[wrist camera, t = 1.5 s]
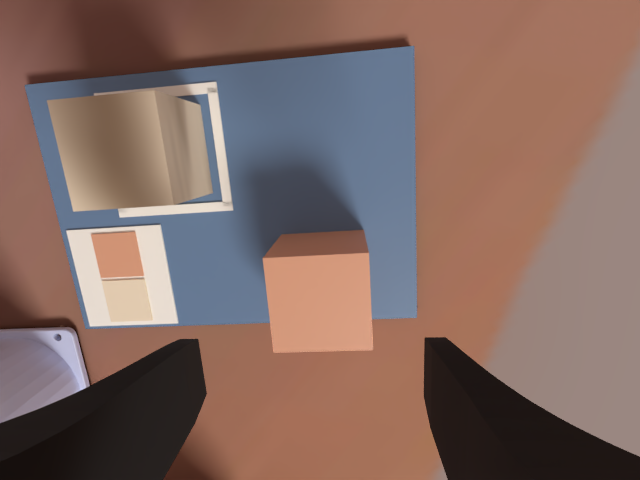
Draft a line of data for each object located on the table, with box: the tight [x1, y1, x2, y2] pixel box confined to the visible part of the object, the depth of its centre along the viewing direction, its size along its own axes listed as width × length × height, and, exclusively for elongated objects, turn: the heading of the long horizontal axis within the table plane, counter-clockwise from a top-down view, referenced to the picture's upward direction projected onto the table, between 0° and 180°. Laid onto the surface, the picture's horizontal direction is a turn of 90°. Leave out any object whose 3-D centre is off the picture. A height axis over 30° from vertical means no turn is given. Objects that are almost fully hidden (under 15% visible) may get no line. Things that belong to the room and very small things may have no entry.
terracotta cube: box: [263, 230, 373, 353], centre depth 18 cm, size 4×4×4 cm
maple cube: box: [47, 90, 213, 212], centre depth 17 cm, size 4×4×4 cm
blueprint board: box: [25, 46, 417, 329], centre depth 19 cm, size 20×14×1 cm
